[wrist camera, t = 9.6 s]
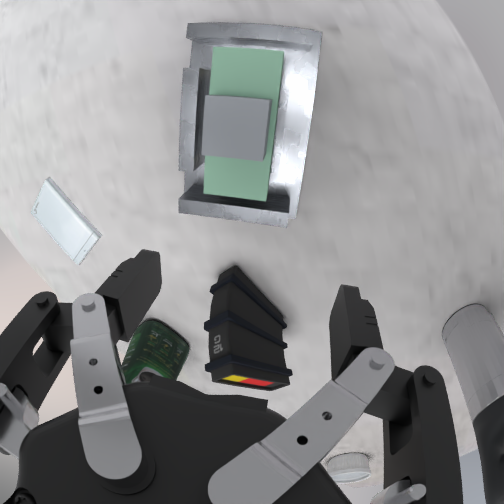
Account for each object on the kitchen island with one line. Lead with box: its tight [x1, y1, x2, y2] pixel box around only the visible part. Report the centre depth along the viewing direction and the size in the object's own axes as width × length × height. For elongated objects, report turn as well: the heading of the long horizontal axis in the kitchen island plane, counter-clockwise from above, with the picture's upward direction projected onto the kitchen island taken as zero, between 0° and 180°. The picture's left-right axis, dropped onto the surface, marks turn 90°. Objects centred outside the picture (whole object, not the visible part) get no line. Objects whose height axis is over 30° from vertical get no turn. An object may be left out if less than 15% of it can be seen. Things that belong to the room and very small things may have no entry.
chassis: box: [179, 23, 322, 228], centre depth 27 cm, size 21×13×6 cm, turn 175°
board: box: [202, 47, 284, 201], centre depth 24 cm, size 14×6×5 cm, turn 174°
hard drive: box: [31, 178, 102, 265], centre depth 39 cm, size 2×8×12 cm
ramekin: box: [327, 453, 371, 484], centre depth 66 cm, size 13×13×7 cm
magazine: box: [204, 266, 293, 391], centre depth 37 cm, size 4×13×15 cm, turn 39°
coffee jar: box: [121, 321, 189, 384], centre depth 41 cm, size 10×8×19 cm
